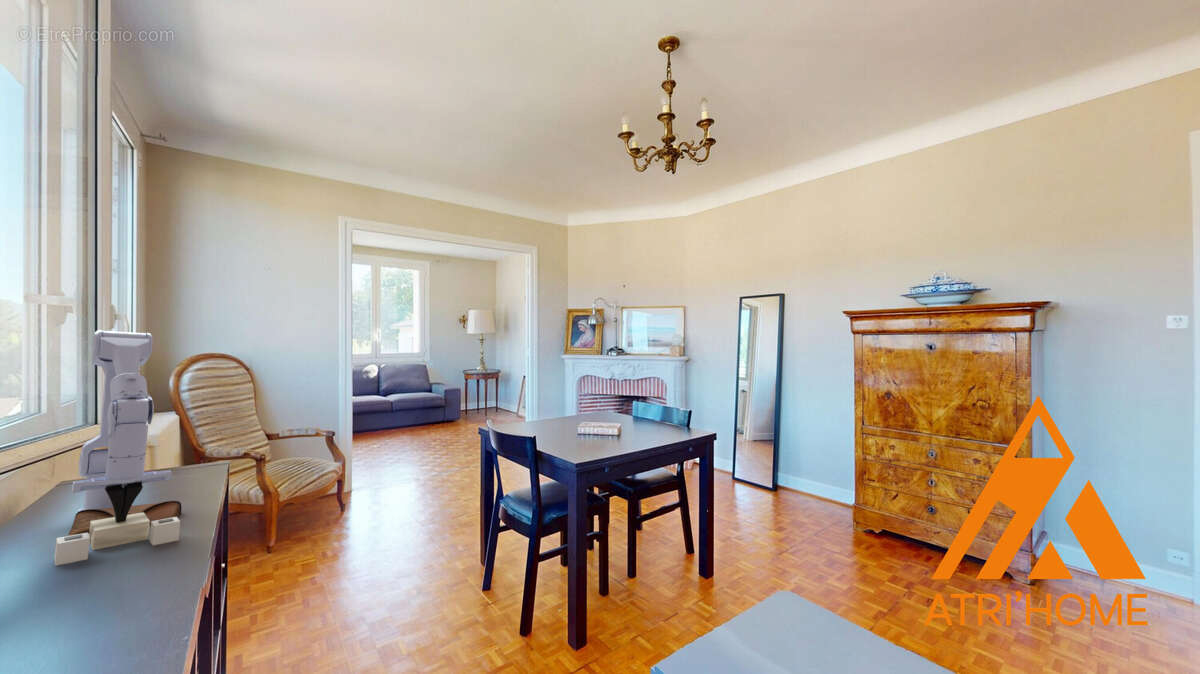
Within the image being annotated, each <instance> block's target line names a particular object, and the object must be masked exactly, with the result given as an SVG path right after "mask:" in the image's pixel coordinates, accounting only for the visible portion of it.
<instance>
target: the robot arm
mask: <svg viewBox="0 0 1200 674" xmlns="http://www.w3.org/2000/svg"><path fill="white" fill-rule="evenodd" d="M153 344H154V338H153V335H152V334H151V333H150V332H127V331H113V330H111V331H110V330H107V331H106V330H101V329H97V330H96V331H95V332H94V333H93V338H92V344H91V345H92V346H91V352H92V353H91V361H92V365H94V366H95V365H96V366H98V367H100V368H101V369H102V371H103V374H104V380H103V381H104V382H103V394H102V405H101V415H100V417H101V418H100V427H99V428H100V429H99V434H97V436H94V438H91V439H89V440H87V441H86V442H84V444H83V445H82V446H81V452H80V454H79V455H80V456H79V460H78V475H79V476H80V477H82V478H86V479H82V480H74V481H72V488H71V492H72V493H73V494H76V493H81V492H84V500H83V501H84V502H83V508H79V509H77V510H78V511H77V513H78V512H79V511H82V510H88V509H108V508H114V512H115V521H116V522H121V521H126V518H127V515H128V512H129V510H130V508H131V506H133V504H134V502H135V500H136V499H137V497H139V495H140V493H141V492H142V490H143V488H144V487H143V484H146V483H147V484H148V483H155V482H163V481H164V482H167V481H168V482H169V481H171V480H172V474H173V473H172V471H171V470H156V471H145V465H146V464H145V463H146V453H147V443H148V433H149V425H151V424H152V421H153V418H154V410H155V407H154V406H155V404H154V399H153V398H152V396H151V395H150V394H149V392H148V385H147V379H146V377H145V376H143V375H141V374H139V373H140V367H143V366H144V365H146V362H148V360H149V357H150V356H151V355H152V352H153V346H154V345H153Z"/></svg>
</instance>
